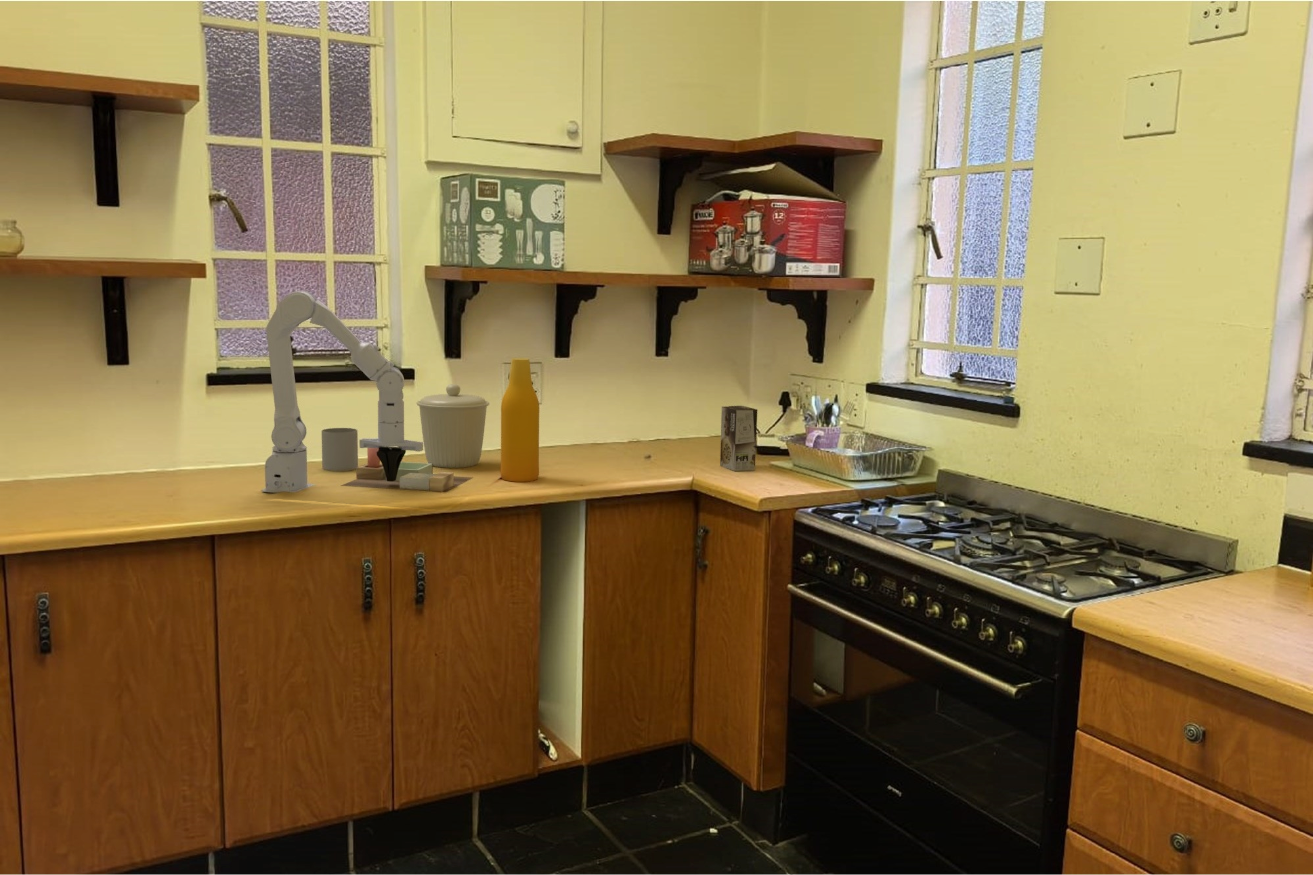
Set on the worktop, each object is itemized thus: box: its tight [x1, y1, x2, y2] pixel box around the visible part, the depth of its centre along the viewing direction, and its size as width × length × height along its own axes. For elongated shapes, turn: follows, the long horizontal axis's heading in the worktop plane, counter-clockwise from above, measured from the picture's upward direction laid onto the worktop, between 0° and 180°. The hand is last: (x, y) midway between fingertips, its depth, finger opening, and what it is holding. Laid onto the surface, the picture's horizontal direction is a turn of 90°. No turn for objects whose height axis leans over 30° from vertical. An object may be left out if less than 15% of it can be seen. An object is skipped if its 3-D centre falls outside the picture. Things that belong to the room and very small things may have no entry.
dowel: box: [366, 448, 381, 468], centre depth 247 cm, size 3×3×7 cm
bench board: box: [340, 462, 474, 493], centre depth 243 cm, size 18×26×4 cm
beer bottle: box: [500, 357, 540, 483], centre depth 251 cm, size 9×9×29 cm
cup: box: [321, 427, 359, 472], centre depth 257 cm, size 8×8×10 cm
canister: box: [416, 383, 490, 469], centre depth 266 cm, size 18×18×21 cm
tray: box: [386, 461, 434, 481], centre depth 247 cm, size 9×8×3 cm
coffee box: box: [719, 405, 759, 472], centre depth 274 cm, size 9×6×16 cm
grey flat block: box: [400, 473, 437, 490], centre depth 237 cm, size 6×7×2 cm
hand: (391, 480), depth 238 cm, fingers closed
